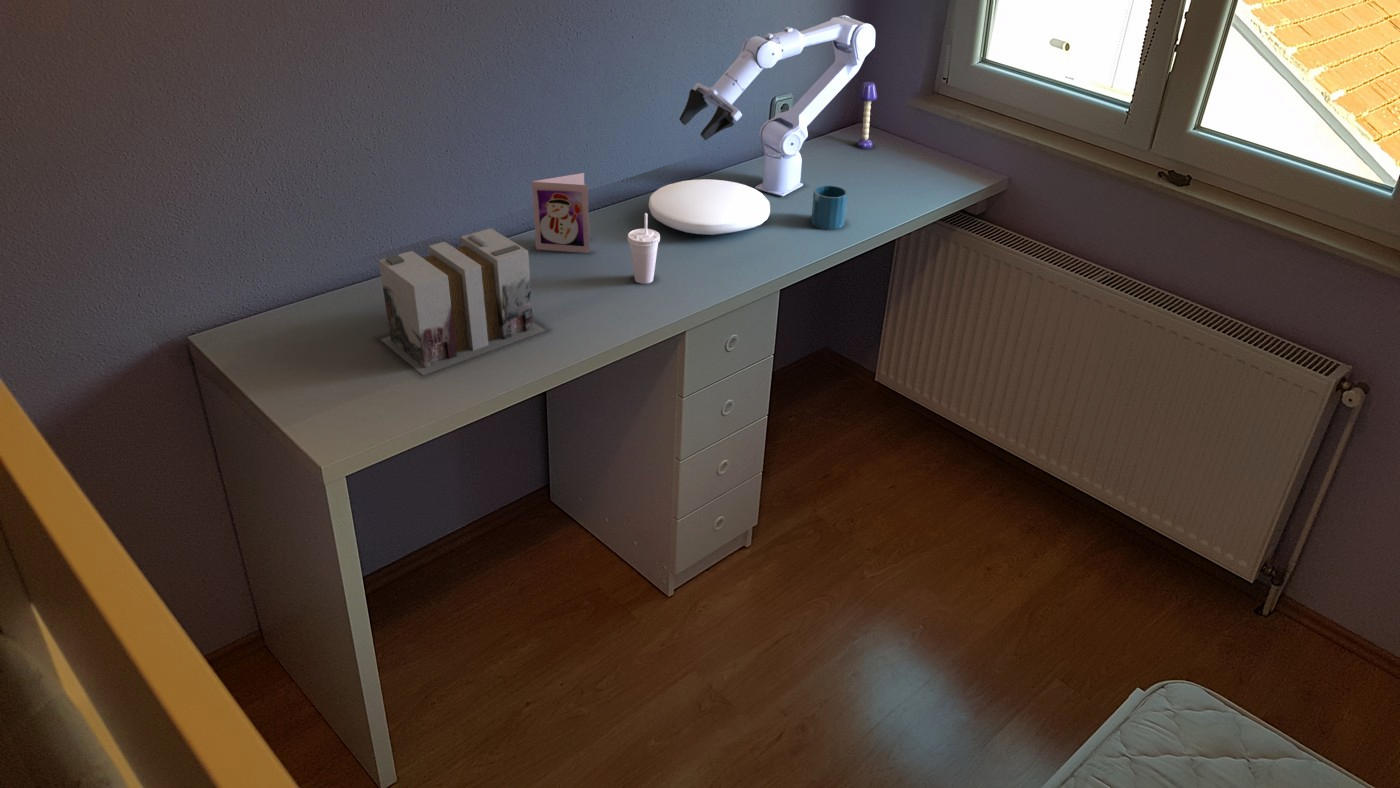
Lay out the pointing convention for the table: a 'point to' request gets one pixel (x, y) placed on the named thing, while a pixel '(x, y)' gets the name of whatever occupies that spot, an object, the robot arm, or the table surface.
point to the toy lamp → (866, 112)
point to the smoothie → (643, 252)
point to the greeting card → (561, 214)
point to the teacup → (829, 207)
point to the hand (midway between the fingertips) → (692, 129)
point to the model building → (457, 300)
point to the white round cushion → (709, 206)
